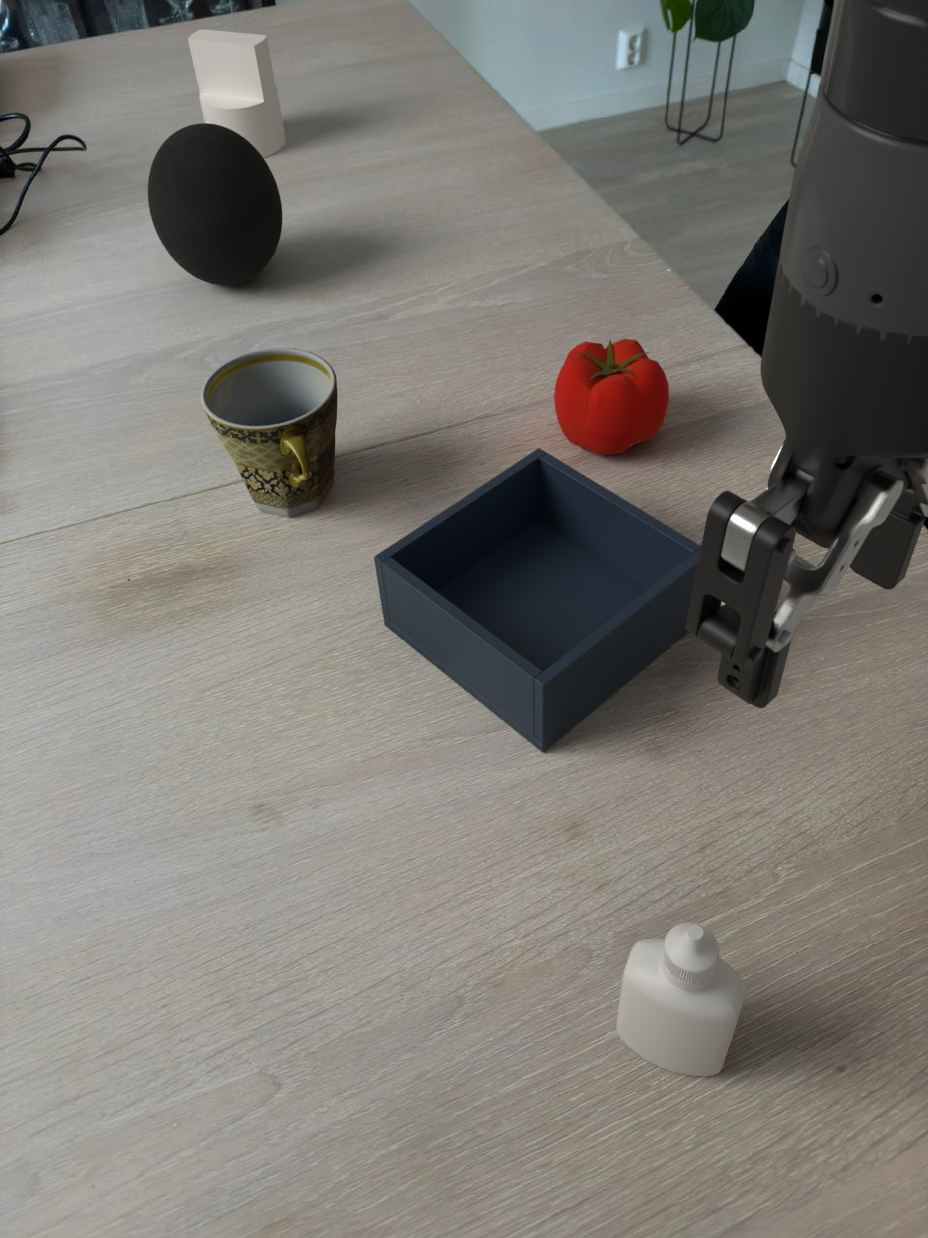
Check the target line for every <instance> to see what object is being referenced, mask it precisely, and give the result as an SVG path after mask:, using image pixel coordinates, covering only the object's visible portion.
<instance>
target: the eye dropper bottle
mask: <svg viewBox="0 0 928 1238" xmlns="http://www.w3.org/2000/svg"><path fill="white" fill-rule="evenodd" d="M746 986H747V985H746V982H745V980H744V978H743V977H742V975H740V973H739V972H738V971H737V970H736V969H735V968H734V967H732V965H730V964H729V963H728V962H726V960H724V959H723V958H721V957H720V945H719V942H718V940H717V937H716V935H714V933H713V932H712V931H711V930H710V929H709V928H707V927H706V926H705V925H702V924H700V923H697V922H691V921H690V922H682V923H679V924H676V925H674V926H673V927H672V928H670V930H669V931H668V932H667V933H666V936H665V937H655V938H646V939H645V938H644V939H640V940H638V941H637V942H635V943H634V945H633V946H632V947H631V950H630V953H629V955H628V958H627V961H626V963H625V967H624V969H623V973H622V979H621V986H620V994H619V1001H618V1008H617V1017H616V1027H615V1028H616V1030H615V1031H616V1034H617V1036H618V1038H619V1039H620V1040H621V1041H622V1042H623V1044H625V1045H626V1046H627V1047H628V1048H629V1049H630V1050H631V1051H632V1052H634V1053H635V1054H636V1055H638V1056H639V1057H641V1058H642V1059H644V1060H645V1061H647V1062H649V1063H650V1064H651V1065H654V1066H656V1067H658V1068H661V1069H663V1070H665V1071H669V1072H671V1073H675V1074H679V1075H684V1076H692V1077H713V1076H715V1075H717V1074H719V1073H720V1072H721V1070H722V1069H723V1068H724V1064H725V1061H726V1058H727V1055H728V1053H729V1049H730V1046H731V1043H732V1040H733V1037H734V1033H735V1031H736V1027H737V1024H738V1022H739V1018H740V1015H741V1011H742V1008H743V1004H744V1000H745V996H746V992H747V987H746Z"/></svg>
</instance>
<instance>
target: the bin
mask: <svg viewBox="0 0 928 1238" xmlns="http://www.w3.org/2000/svg"><path fill="white" fill-rule="evenodd" d="M700 550H701V545H700V544H699V543H697V542H695V541H694V540H692V539H690V538H689V537H687V536H685V535H683V534H682V533H681V532H679V531H678V530H676V529H674V528H672V527H670V526H668V525H667V524H666V523H664V522H662V521H660V520H659V519H658V518H655V517H654V516H653V515H650V514H649V513H647V512H645V511H644V510H642V509H641V508H639V507H637V506H636V505H634V504H633V503H631V502H630V501H628V500H626V499H625V498H622V497H621V496H619V495H618V494H616V493H615V492H613V491H611V490H610V489H607V488H606V487H604V486H603V485H601V484H599V483H598V482H596V481H594V480H593V479H591V478H590V477H588V476H587V475H585V474H583V473H581V472H580V471H578V470H577V469H576V468H575V469H574V468H573V467H572V466H570V465H568V464H566V463H565V462H563V461H562V460H560V459H559V458H557V457H555V456H554V455H552V454H550V453H548V452H546V451H545V450H543V449H541V448H540V447H538V448H536V449H535V450H533V451H532V452H530V453H528V455H526V456H524V457H523V458H521V459H520V460H518V461H517V462H515V463H514V464H512V465H511V466H509V467H507V468H506V469H505V470H503V471H501V472H500V473H499V474H497V475H495V476H494V477H492V478H491V479H489V480H488V481H486V482H485V483H483V484H482V485H481V486H480V485H479V486H478V488H476V489H474V490H472V491H471V492H470V493H468V494H467V495H465V496H464V497H462V498H461V499H459V500H457V501H456V502H455V503H452V504H451V505H450V506H449V507H447V508H445V509H443V510H442V511H441V512H439V513H438V514H436V515H434V516H433V517H432V518H430V519H429V520H427V521H425V522H424V523H423V524H421V525H420V526H418V527H417V528H416V529H413V530H412V531H411V532H409V533H408V534H406V535H404V536H403V537H402V538H400V539H398V540H397V541H395V542H394V543H392V544H390V545H389V546H388V547H386V548H384V549H383V550H382V551H380V552H379V553H377V554H375V555H374V556H373V561H374V566H375V573H376V580H377V585H378V593H379V598H380V605H381V612H382V617H383V623H384V626H385V627H386V628H387V629H389V630H390V631H391V632H392V633H394V634H395V635H396V636H397V637H398V638H400V639H401V640H402V641H403V642H404V643H406V644H407V645H408V646H410V647H411V648H412V649H413V650H414V651H416V652H417V653H418V654H419V655H421V656H422V657H423V658H425V659H426V660H427V661H428V662H429V663H431V664H432V665H433V666H434V667H436V668H437V669H438V670H439V671H441V672H442V673H443V674H444V675H446V676H447V677H448V678H449V679H450V680H452V681H453V682H454V683H456V684H457V685H458V686H459V687H460V688H462V689H463V690H464V691H465V692H467V694H469V695H470V696H472V697H473V698H474V699H475V700H477V701H478V702H479V703H480V704H482V706H484V707H485V708H486V709H488V710H489V711H490V712H491V713H493V714H494V715H495V716H496V717H498V718H499V719H501V720H502V721H503V722H504V723H505V724H506V725H507V726H508V727H510V728H511V729H513V730H514V731H515V732H516V733H517V734H518V735H520V736H522V737H523V738H524V740H526V741H528V743H530V744H531V745H532V746H534V747H535V748H536V749H537V750H539V751H540V752H541V753H542V754H544V753H545V752H546V751H547V750H549V749H550V748H551V747H552V746H553V745H555V744H556V743H557V742H558V741H560V740H561V739H562V738H563V737H565V736H566V735H567V734H568V733H569V732H570V731H572V729H574V728H575V727H576V726H577V725H579V724H580V723H581V722H582V721H583V720H585V719H586V718H587V717H588V716H590V715H591V714H592V713H593V712H594V711H595V710H597V709H598V708H599V707H600V706H602V705H603V704H604V703H605V702H606V701H607V700H608V699H610V698H611V697H613V696H614V695H615V694H616V693H617V692H618V691H619V690H621V689H622V688H623V687H624V686H625V685H627V684H628V683H629V682H630V681H632V680H633V679H634V678H635V677H636V676H637V675H639V674H640V673H641V672H642V671H643V670H645V669H646V668H647V667H648V666H649V665H651V663H653V662H655V661H656V660H657V659H658V657H661V656H662V654H664V653H665V652H666V651H668V649H670V648H671V647H672V646H673V645H674V644H676V643H677V642H678V641H679V640H680V639H682V638H683V637H685V635H686V634H688V633H689V632H688V631H687V630H686V622H687V617H688V612H689V607H690V601H691V596H692V591H693V586H694V581H695V576H696V570H697V565H698V560H699V555H700Z"/></svg>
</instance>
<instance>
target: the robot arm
mask: <svg viewBox="0 0 928 1238" xmlns="http://www.w3.org/2000/svg"><path fill="white" fill-rule="evenodd" d="M824 50H825V51H824V56H823V60H822V67H821V72H820V81H819V84H818V88H817V91H816V92H817V93H816V97H815V102H814V106H813V109H812V112H811V116H810V118H809V121H808V123H807V127H806V129H805V133H804V136H803V139H802V142H801V146H800V149H799V153H798V155H797V158H796V159H797V160H796V163H795V168H794V171H793V176H792V180H791V181H792V182H791V185H790V186H791V187H790V193H789V198H788V204H787V209H786V216H785V222H784V227H783V233H782V239H781V245H780V250H779V256H778V262H777V267H776V273H775V279H774V284H773V285H774V286H773V291H772V295H771V296H772V297H771V303H770V308H769V314H768V319H767V324H766V325H767V326H766V332H765V335H764V336H765V338H764V343H763V348H762V353H761V360H760V379H761V383H762V386H763V390H764V392H765V394H766V396H767V398H768V399H769V402H770V404H771V405H772V406H773V408H774V410H775V412H776V414H777V416H778V418H779V420H780V422H781V425H782V427H783V429H784V432H785V439H783V443H782V444H781V446H780V449H779V450H778V452H777V454H776V456H775V458H774V460H773V461H772V464H771V466H770V473H769V475H768V479H767V486H766V489H765V490H764V491H763V492H761V493H759V494H758V495H757V496H756V497H754V498H753V499H751V500H750V501H748V500H746V499H744V498H743V497H741V496H739V495H737V494H736V493H733V492H732V491H730V490H725V491H723V492H721V493H719V494H718V496H717V497H715V499H714V501H712V504H711V505H710V507H709V508H708V512H707V514H706V519H705V525H704V530H703V534H702V540H701V545H700V546H701V550H700V555H699V560H698V565H697V570H696V576H695V581H694V586H693V591H692V596H691V601H690V607H689V612H688V617H687V622H686V630H687V631H688V633H690V634H691V635H693V636H694V637H695V638H697V639H698V640H700V641H702V642H703V643H705V644H706V645H708V646H709V647H711V648H712V649H714V650H715V651H717V652H718V653H720V654H721V655H720V662H719V667H718V670H717V671H718V672H717V678H716V680H717V683H718V684H719V685H720V686H721V687H723V688H724V689H726V690H727V691H729V692H730V693H732V694H733V695H735V696H736V697H738V698H739V699H741V700H742V701H744V702H745V703H746V704H748V705H752V706H754V707H755V708H758V709H764V708H766V707H767V706H768V705H769V704H770V703H771V702H772V701H773V700H775V699H776V698H777V696H778V695H779V691H780V688H781V687H780V686H781V683H782V679H783V674H784V671H785V667H786V663H787V659H788V655H789V651H790V647H791V643H792V639H793V635H794V633H795V631H796V630H797V627H798V626H799V624H800V623H801V621H802V619H803V617H804V616H805V614H806V612H807V610H808V609H809V607H810V606H811V604H812V602H813V600H814V599H815V598H817V597H819V596H828V595H832V593H834V592H835V591H836V590H837V588H838V587H839V585H840V583H841V582H842V580H843V578H844V576H845V574H846V573H847V571H848V569H849V568H850V569H851V571H852V572H853V573H855V574H857V575H859V576H861V578H864V579H865V580H867V581H869V582H871V583H873V584H874V585H877V586H878V587H880V588H881V589H884V590H887V591H888V590H889V591H890V590H893V589H895V587H897V586H898V585H899V584H900V583H901V582H903V580H904V579H905V577H906V575H907V572H908V569H909V566H910V564H911V560H912V558H913V555H914V552H915V549H916V546H917V543H918V540H919V538H920V534H921V533H922V529H923V526H924V523H925V520H926V518H928V0H833V5H832V11H831V17H830V22H829V28H828V33H827V40H826V44H825V49H824ZM797 534H798V535H799V536H801V537H803V538H804V539H807V540H808V541H810V542H812V543H814V544H815V545H817V546H819V547H821V548H824V549H827V552H826V554H825V555H824V557H823V559H822V560H821V562H820V563H818V564H817V565H814V564H812V563H811V562H809V561H807V560H805V559H804V558H802V557H800V556H799V555H797V554H798V553H797V550H796V549H795V548H793V546H794V543H795V539H796V537H797V536H796V535H797ZM784 581H785V582H786V583H787V584H788V587H789V590H788V593H787V595H786V596H785V598H784V600H783V601H782V603H781V605H780V606H779V609H778V610H777V605H778V601H779V597H780V595H781V590H782V587H783V584H784ZM776 610H777V611H776Z"/></svg>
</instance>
